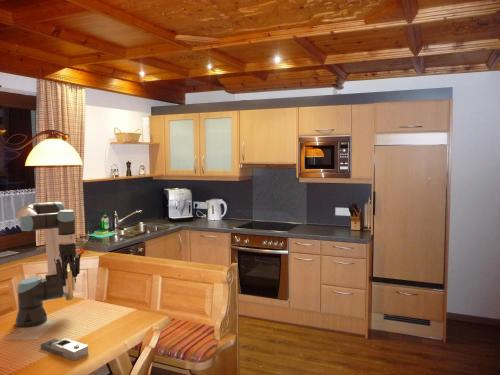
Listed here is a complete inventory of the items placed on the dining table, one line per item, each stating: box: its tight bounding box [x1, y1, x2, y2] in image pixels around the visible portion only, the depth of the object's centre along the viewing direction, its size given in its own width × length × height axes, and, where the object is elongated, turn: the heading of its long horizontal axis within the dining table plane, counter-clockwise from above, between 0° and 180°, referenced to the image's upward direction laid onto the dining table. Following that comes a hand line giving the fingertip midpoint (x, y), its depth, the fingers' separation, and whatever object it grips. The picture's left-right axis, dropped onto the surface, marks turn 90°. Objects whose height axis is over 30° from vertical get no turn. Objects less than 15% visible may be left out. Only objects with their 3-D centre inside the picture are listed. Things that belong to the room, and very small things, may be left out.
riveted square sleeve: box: [40, 337, 89, 362], centre depth 189 cm, size 24×7×5 cm, turn 60°
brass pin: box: [65, 269, 74, 301], centre depth 198 cm, size 3×3×14 cm
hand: (69, 291), depth 199 cm, fingers closed on brass pin, 3 cm apart
